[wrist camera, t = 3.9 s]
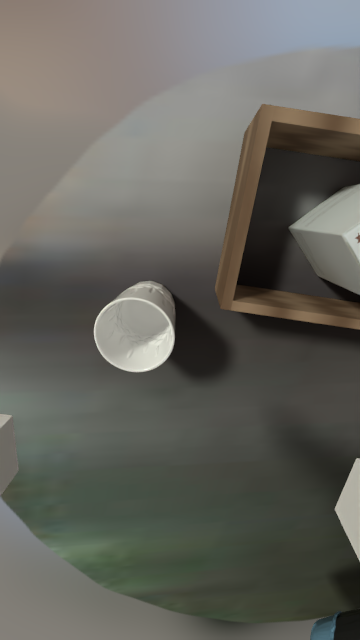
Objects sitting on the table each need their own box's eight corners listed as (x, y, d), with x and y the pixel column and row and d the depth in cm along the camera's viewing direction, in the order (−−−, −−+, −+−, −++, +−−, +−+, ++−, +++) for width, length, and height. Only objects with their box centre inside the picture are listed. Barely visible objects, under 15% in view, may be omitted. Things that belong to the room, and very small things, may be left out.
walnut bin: (469, 167, 30) (563, 150, 22) (402, 317, 35) (457, 344, 28) (244, 132, 29) (262, 103, 22) (214, 289, 35) (220, 308, 28)
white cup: (176, 273, 35) (169, 294, 25) (182, 331, 38) (178, 369, 28) (114, 278, 35) (85, 301, 26) (124, 335, 38) (102, 374, 29)
